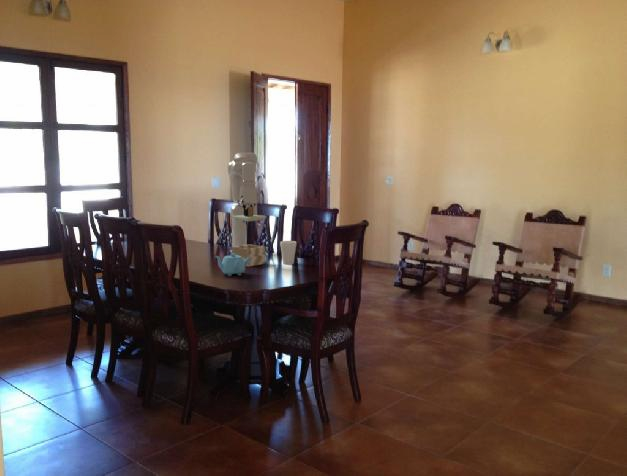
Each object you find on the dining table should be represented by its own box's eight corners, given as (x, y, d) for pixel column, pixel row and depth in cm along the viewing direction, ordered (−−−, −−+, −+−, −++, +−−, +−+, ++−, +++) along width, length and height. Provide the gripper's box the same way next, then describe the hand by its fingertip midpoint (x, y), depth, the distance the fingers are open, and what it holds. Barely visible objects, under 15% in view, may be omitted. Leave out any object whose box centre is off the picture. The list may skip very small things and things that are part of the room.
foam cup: (298, 262, 325) (298, 241, 323) (291, 265, 317) (291, 243, 315) (284, 261, 329) (284, 240, 327) (277, 264, 321) (277, 242, 319)
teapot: (236, 278, 280) (236, 256, 278) (214, 275, 285) (214, 254, 284) (251, 273, 294) (251, 252, 292) (230, 270, 299) (230, 250, 298)
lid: (249, 218, 329) (249, 205, 327) (266, 220, 319) (266, 206, 318) (230, 219, 318) (230, 206, 316) (248, 221, 308) (247, 208, 307)
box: (249, 260, 331) (249, 244, 330) (265, 263, 323) (265, 246, 321) (232, 263, 321) (232, 246, 320) (248, 266, 312) (248, 249, 311)
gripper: (254, 183, 324) (254, 213, 327) (233, 184, 312) (233, 215, 314) (263, 183, 319) (263, 214, 322) (242, 184, 307) (242, 216, 309)
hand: (248, 215), depth 318 cm, fingers closed on lid, 3 cm apart
